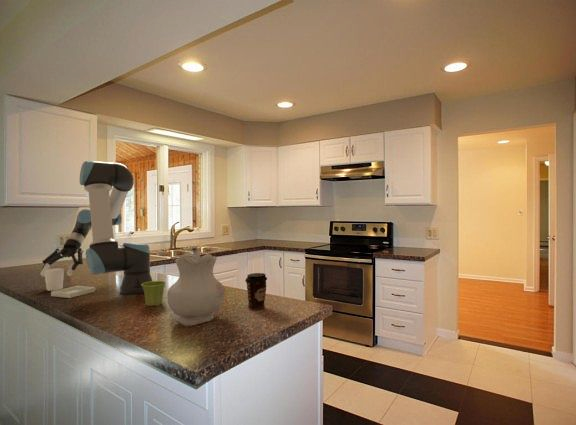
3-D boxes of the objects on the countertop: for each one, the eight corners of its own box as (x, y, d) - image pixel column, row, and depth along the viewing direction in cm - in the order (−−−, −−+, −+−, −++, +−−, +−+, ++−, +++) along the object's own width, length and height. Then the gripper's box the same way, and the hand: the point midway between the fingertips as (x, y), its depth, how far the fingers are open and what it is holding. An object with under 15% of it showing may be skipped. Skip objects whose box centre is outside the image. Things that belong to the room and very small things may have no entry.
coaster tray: (95, 291, 161) (95, 287, 161) (70, 298, 149) (70, 293, 149) (76, 289, 165) (76, 285, 165) (51, 296, 153) (51, 291, 153)
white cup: (54, 291, 163) (53, 271, 163) (41, 290, 164) (40, 270, 164) (68, 287, 171) (67, 268, 170) (55, 287, 172) (54, 268, 172)
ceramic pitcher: (164, 317, 122) (157, 250, 121) (215, 305, 132) (209, 243, 130) (175, 336, 103) (167, 257, 102) (235, 320, 113) (228, 248, 112)
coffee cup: (271, 305, 131) (270, 273, 131) (263, 312, 123) (262, 277, 123) (251, 304, 134) (250, 272, 134) (242, 310, 126) (241, 276, 126)
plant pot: (171, 302, 138) (170, 281, 138) (153, 308, 130) (153, 286, 130) (154, 300, 142) (154, 280, 142) (136, 306, 134) (136, 284, 134)
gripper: (99, 246, 186) (82, 278, 171) (55, 247, 187) (35, 279, 172) (93, 238, 181) (75, 270, 166) (48, 238, 181) (26, 271, 166)
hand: (55, 275), depth 169 cm, fingers open, 13 cm apart
